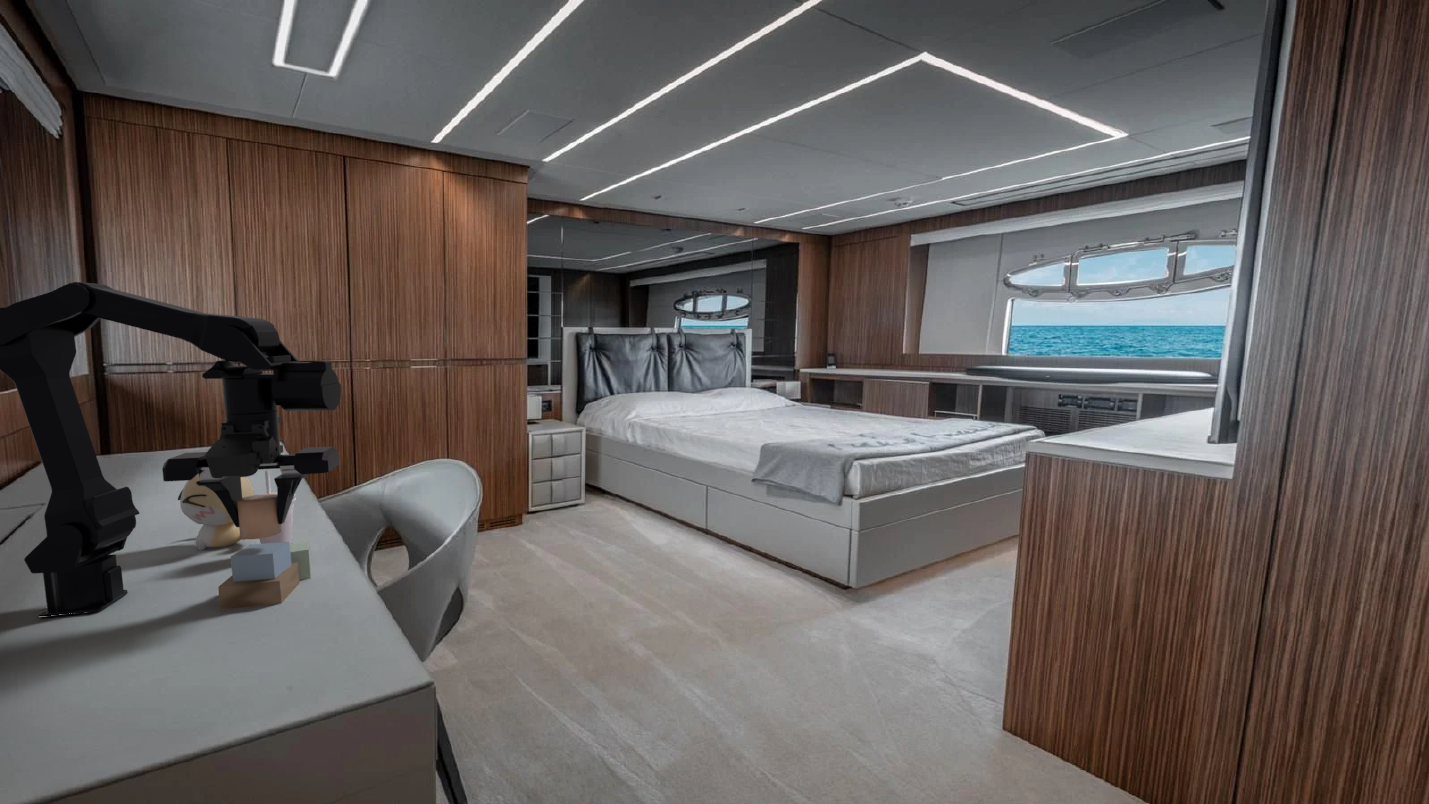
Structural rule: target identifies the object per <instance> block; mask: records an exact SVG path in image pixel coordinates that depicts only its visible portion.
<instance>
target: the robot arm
mask: <svg viewBox="0 0 1429 804" xmlns="http://www.w3.org/2000/svg"><path fill="white" fill-rule="evenodd" d="M100 320H106V321H109V322H112V323H119V324H122V325H126V326H130V327H133V328H138V329H141V330H146V331H148V332H153V333H155V334H156V333H157V334H160V335H165V336H169V337H173V338H176V339H180V340H183V341H185V342H188V343H190V344H191V345H193V346H194V347H196V348H197V349H199V350H200V351H203V352H204V353H207V354H209V355H211V356H214V357H217V358H218V359H220V360H216V361H215V362H214V364H213V365H212V366H211V367H210V368H209V369H208V370H206V371H205V372H203V373H202V375H201V377H202V378H203V379H205V380H211V379H212V380H213V379H214V380H219V379H220V380H222V395H223V405H224V419H225V421H223V422H221V427H220V437H219V439H218V440H216V441H214V443H213V444H212V445H211V446H210V448H209V449H208V450H207V451H199V452H197V451H194V452H183V453H182V454H178V455H175V456H174V457H170V458H168V459H167V460H166V461H165V462H164V464H163V466H162V480H163V482H181V481H183V482H184V481H186V482H187V481H188V480H192V479H193V478H194V477H195V476H196V475H198V474H199V481H197V482H196V484H197V485H198V486H206V487H207V488H209V489H211V490H212V491H213V492H214V493H215V494H216V495H217V496H218V498H219V499H220V500H221V502H222V503H223V505H224V507H225V508H226V510H227V512H228V514H229V515H230V517H231V519H232V521H233V522H234V524H235V526H236V527H239V517H238V505H237V500H239V499H241V498H242V489H241V477H247V478H248V477H251V476H254V475H256V474H257V472H258V470H272V469H273V470H274V469H279V471H280V472H281V474H280V475H278V476H276V477H275V478H274V479H273V480H274V483H275V486H276V487H277V490H276V492H277V518H278V524H283V523H284V521H285V519H286V516H287V513H288V510H289V508H290V505H291V502H292V499H293V497H294V494H296V491H297V489H298V487H299V486H300V483H301V482H302V479H305V477H307V476H309V475H312V474H314V475H315V474H326V473H329V472H331V471H332V470H335V468H336V467H338V466H339V465H340V458H339V455H340V454H339V451H338V450H337V449H336V448H335V447H334V446H317V447H316V446H314V447H311V446H310V447H305V448H303V449H300V450H299V451H298V452H295V453H291V454H283V453H284V445H283V444H281V442H280V441H281V440H280V428H279V425H280V424H282V417H281V415H278V414H279V412H278V406H280V407H281V408H282V409H283V410H284V411H286V412H317V411H319V412H320V411H321V412H322V411H324V412H325V411H328V412H329V411H331V412H332V411H335V410H336V409H337V408H338V407H339V404H340V402H341V401H340V400H341V396H342V385H341V383H340V382H339V378H338V375H337V373H336V372H335V370H334V369H333V366H332V365H333V363H332V361H331V360H315V361H309V362H307V361H306V362H305V361H303V362H302V361H301V362H300V361H299V360H298V359H297V357H296V356H294V354H293V353H292V352H291V351H290V350H289V348H287V346H286V345H285V344H284V343H283V341H281V339H280V335H279V332H278V330H277V329H276V328H275V325H274V324H273V323H272V322H271V321H268V320H266V319H263V318H260V317H248V316H240V315H239V316H238V315H230V314H227V315H226V314H218V313H217V314H216V313H206V312H201V311H198V310H193V309H190V308H185V307H183V306H180V305H179V306H178V305H176V304H175V305H174V304H171V303H168V302H165V301H159V300H155V299H153V298H149V297H145V296H140V295H137V294H135V293H134V294H133V293H129V292H126V291H122V290H118V289H114V288H112V287H110V286H108V285H106V284H104V283H103V284H101V283H90V282H82V281H81V282H80V281H73V282H69V283H67V284H64V285H62V286H60V287H58V288H56V289H54V290H52V291H49V292H46V293H43V294H39V295H36V296H34V297H33V296H32V297H30V298H26V299H24V300H20V301H17V302H14V303H11V304H10V305H8V306H5V307H0V371H1V372H2V373H3V374H4V375H6V376H7V377H8V378H9V379H10V380H11V381H13V383H14V384H15V385H14V386H15V388H16V390H17V393H18V395H19V400H20V402H21V405H22V408H23V411H24V412H25V416H26V420H27V423H28V425H29V428H30V431H31V434H32V436H33V439H34V442H35V445H36V449H37V451H38V453H39V457H40V460H41V462H42V466H43V469H44V470H45V475H46V477H47V480H48V482H49V486H50V489H51V493H50V496H49V500H48V503H47V506H46V509H45V512H44V515H43V516H44V519H43V520H44V524H45V531H46V537H45V538H44V539H42V541H41V542H40V543H39V544H38V545H36V546H35V547H34V549H32V551H31V552H29V553H28V554H27V555H26V556H25V557H24V559H23V560H24V562H25V564H26V566H27V568H28V569H29V571H30V573H31V574H42V577H43V585H44V592H45V593H44V594H45V602H46V603H45V604H46V608H45V609H44V610H42V611H40V612H39V613H38V615H37V616H51V615H59V614H69V613H70V614H71V613H72V615H74V614H73V613H82V614H85V613H84V612H92V613H98V612H101V611H103V610H104V609H106V608H107V607H109V606H110V605H112V604H114V603H115V602H117V601H118V600H120V599H121V598H123V597H124V596H126V595H127V594H128V589H125V588H124V581H123V573H122V570H123V569H122V566H121V565H118V563H117V555H116V553H115V552H119V551H122V550H124V548H125V545H126V542H127V539H128V537H129V536H130V535H131V534H132V532H133V531H134V529H136V526H137V517H136V516H137V515H139V514H140V511H139V510H138V509H137V508H136V506H135V503H134V500H133V495H132V491H131V489H130V488H129V486H123V487H121V488H116V487H115V486H113V485H112V484H111V483H109V482H108V481H107V480H106V479H105V477H104V474H103V472H102V468H101V466H100V462H99V460H98V458H97V455H96V451H95V448H94V445H93V442H92V439H91V436H90V434H89V430H88V427H87V425H86V424H87V423H86V421H85V418H84V416H83V412H82V410H81V406H80V403H79V400H78V398H77V395H76V392H75V389H74V386H73V382H72V380H71V375H70V373H71V370H72V366H73V362H74V361H75V357H76V354H77V346H76V341H75V340H76V339H75V338H76V337H78V336H80V335H81V334H83V333H85V332H88V331H89V330H91V329H92V328H93V327H94V326H95V325H96V324H97V323H98V322H99V321H100ZM232 362H233V363H240V364H242V365H234V364H232ZM266 370H272V371H273V372H264V371H266ZM114 553H115V554H114ZM97 611H98V612H97Z"/></svg>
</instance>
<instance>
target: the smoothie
mask: <svg viewBox="0 0 1429 804" xmlns="http://www.w3.org/2000/svg"><path fill="white" fill-rule="evenodd" d="M264 476H265V486H266V487H265V488H266V492H265V493H264V494H277V491H272V490H271V478H270V477H271V475H270V469H266V470H265V471H264ZM261 494H262V493H260V494H259V495H261ZM296 496H297V494H296V493H295V494H294V497H293V499H292V502H291V505H290V508H289V510H288V513H287V516H286V519H285V521H284V523H283V524H281V532H280V533H279V534H277V535H274V536H270V537H266V538H260V539H259V542H260V543H259V544H265V543H279V542H290V544H292V536H293V522H294V521H293V520H294V508H295V507H294V505H295V501H297V497H296Z"/></svg>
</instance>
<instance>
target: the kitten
mask: <svg viewBox="0 0 1429 804" xmlns="http://www.w3.org/2000/svg"><path fill="white" fill-rule="evenodd" d="M197 481H199V474H198V475H196V476H195V477H194V478H193V479H192V480H186V482H185V484H184V486H183V487H182V488H183V489H182V490H181V491H180V493H179V495H178V496H177V501H179V502H180V503H179V505H180V509H181V512H182V514H184V516H186V517H187V518H188V519H190V520H191V521H192V522H194V523H196V524H197V525H202V526H201V527H200V530H198V534H197V535H196V538H195V546H196V548H197V549H198V550H199V551H204V550H206V548H220V547H226V546H230V545H234V544H237V543H238V542H240V541H241V540H247V539H242V538H240V529H239V527H236V526H235V524H234V522H233V521H232V519H231V517H230V515H229V514H228V512H227V510H226V508H225V507H224V505H223V503H222V502H221V500H220V499H219V498H218V496H217V495H216V494H215V493H214V492H213V491H212V490H211V489H209V488H207V487H206V486H198V485H197V484H196V482H197ZM241 489H242V498H244V497H248V496H253V495H255V491H254V488H253V485H252V483H251V481H250V480H249V479H248V476H247V477H241Z"/></svg>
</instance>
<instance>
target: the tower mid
mask: <svg viewBox="0 0 1429 804" xmlns="http://www.w3.org/2000/svg"><path fill="white" fill-rule="evenodd" d="M230 562H231V565H230V566H231V572H232V573H231V574H232V575H231V576H233V582H239V581H251V580H264V579H275V578H276V577H278V576H279V575H280V574H281V573H283V572H284V571H285V570H287V569H288V568H289V567H290V566H292V565H291V554H290V542H279V543H265V544H261V543H254V544H252V543H251V544H248V545H246V546H245V547H244V548H242V549H241V550H238V551H237V552H236V553H234V554H233V555H231V556H230Z"/></svg>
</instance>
